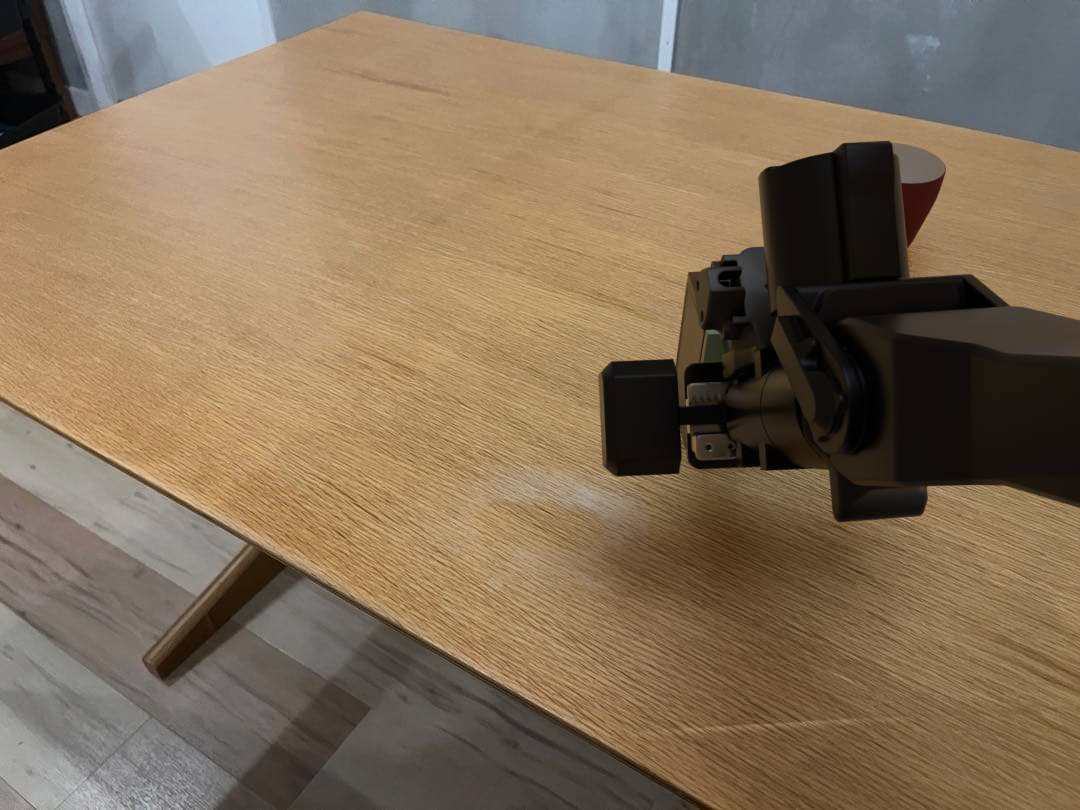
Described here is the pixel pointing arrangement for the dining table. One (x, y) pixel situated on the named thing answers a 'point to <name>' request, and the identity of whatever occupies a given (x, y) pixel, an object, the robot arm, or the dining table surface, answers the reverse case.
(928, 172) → the mug
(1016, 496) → the dining table surface
